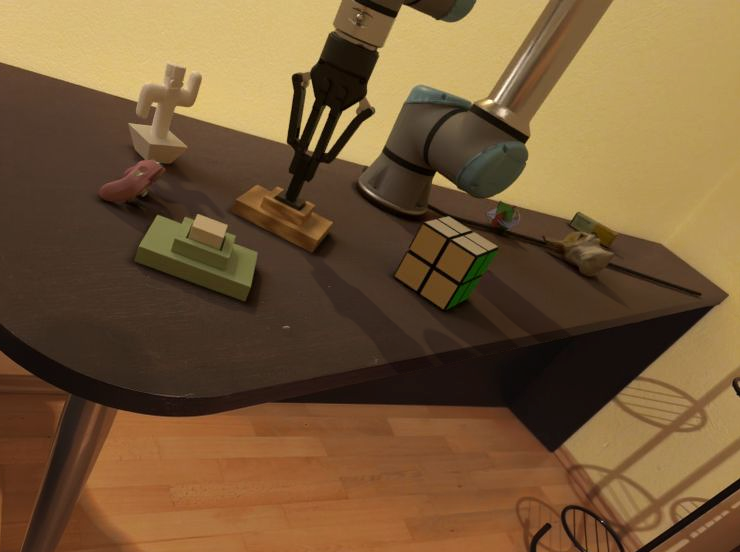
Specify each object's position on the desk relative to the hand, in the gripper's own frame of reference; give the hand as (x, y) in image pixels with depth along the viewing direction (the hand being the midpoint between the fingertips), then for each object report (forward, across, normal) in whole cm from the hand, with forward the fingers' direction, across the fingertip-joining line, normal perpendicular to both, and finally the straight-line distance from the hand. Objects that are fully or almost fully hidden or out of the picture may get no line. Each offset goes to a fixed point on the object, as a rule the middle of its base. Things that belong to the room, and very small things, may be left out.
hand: (291, 196), depth 99 cm
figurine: (+5, -24, +1) cm, 24 cm away
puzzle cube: (+5, +26, +4) cm, 27 cm away
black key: (+2, 0, 0) cm, 2 cm away
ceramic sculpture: (+5, +55, +56) cm, 79 cm away
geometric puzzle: (+5, +37, +53) cm, 65 cm away
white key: (+1, -4, -25) cm, 25 cm away
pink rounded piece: (+5, -18, -16) cm, 25 cm away
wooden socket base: (+5, 0, 0) cm, 5 cm away
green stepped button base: (+5, -4, -25) cm, 25 cm away
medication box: (+5, +64, +91) cm, 111 cm away
